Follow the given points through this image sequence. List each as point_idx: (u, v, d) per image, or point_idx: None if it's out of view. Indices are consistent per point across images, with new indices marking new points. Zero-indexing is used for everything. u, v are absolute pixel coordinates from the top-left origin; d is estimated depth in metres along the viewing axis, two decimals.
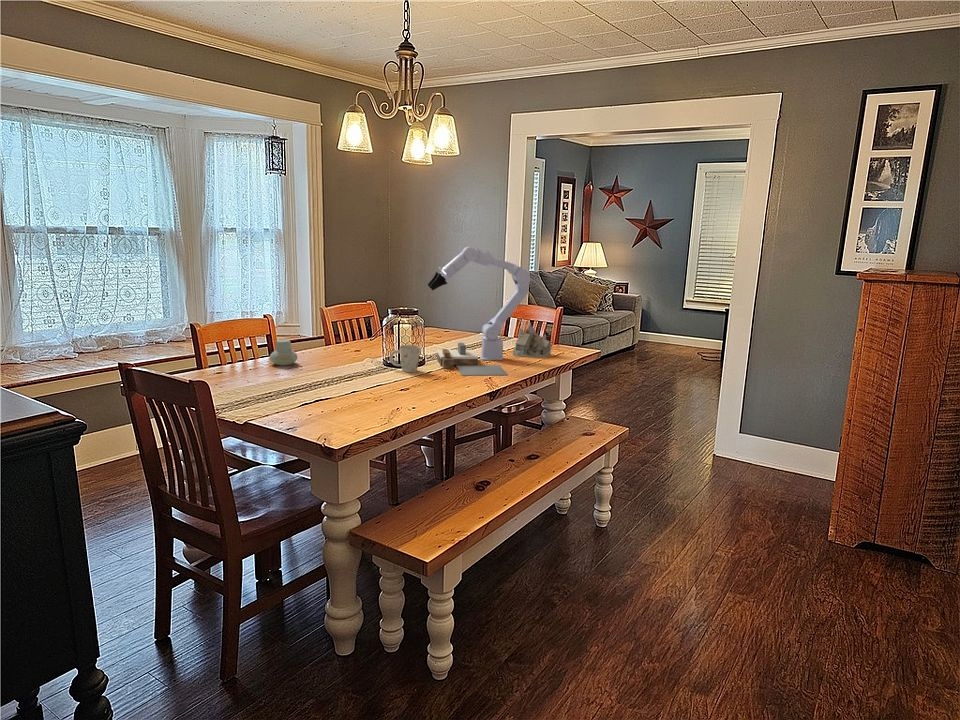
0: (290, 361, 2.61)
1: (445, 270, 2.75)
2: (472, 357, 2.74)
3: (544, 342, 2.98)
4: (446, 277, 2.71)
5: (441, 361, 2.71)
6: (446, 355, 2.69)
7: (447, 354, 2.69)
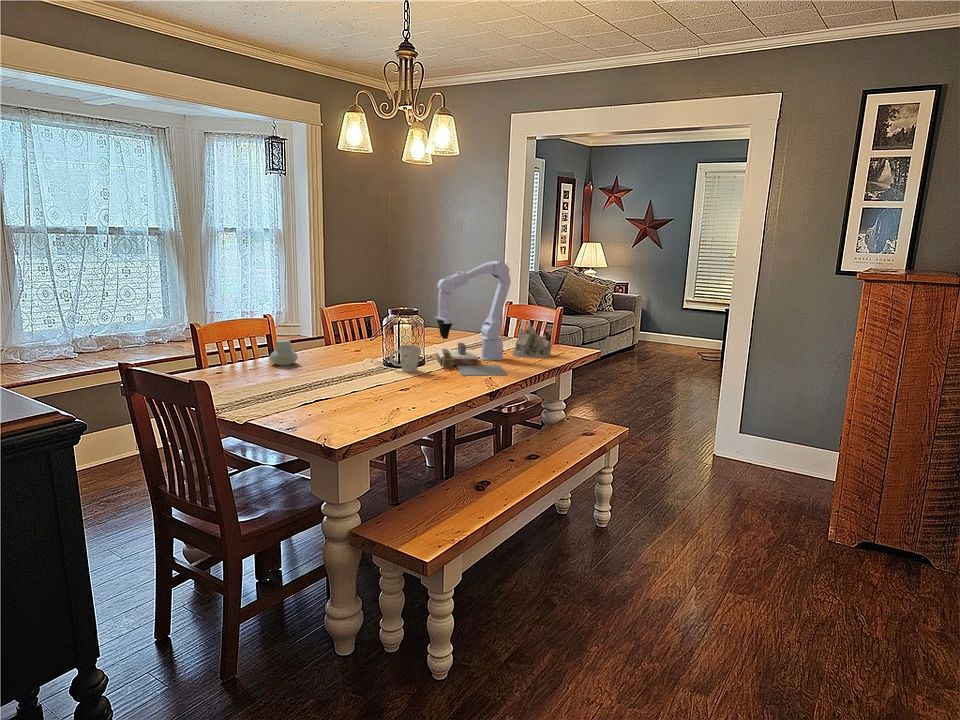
0: (290, 361, 2.61)
1: (441, 315, 2.75)
2: (472, 357, 2.74)
3: (544, 342, 2.98)
4: (447, 322, 2.71)
5: (441, 361, 2.71)
6: (446, 355, 2.69)
7: (447, 354, 2.69)
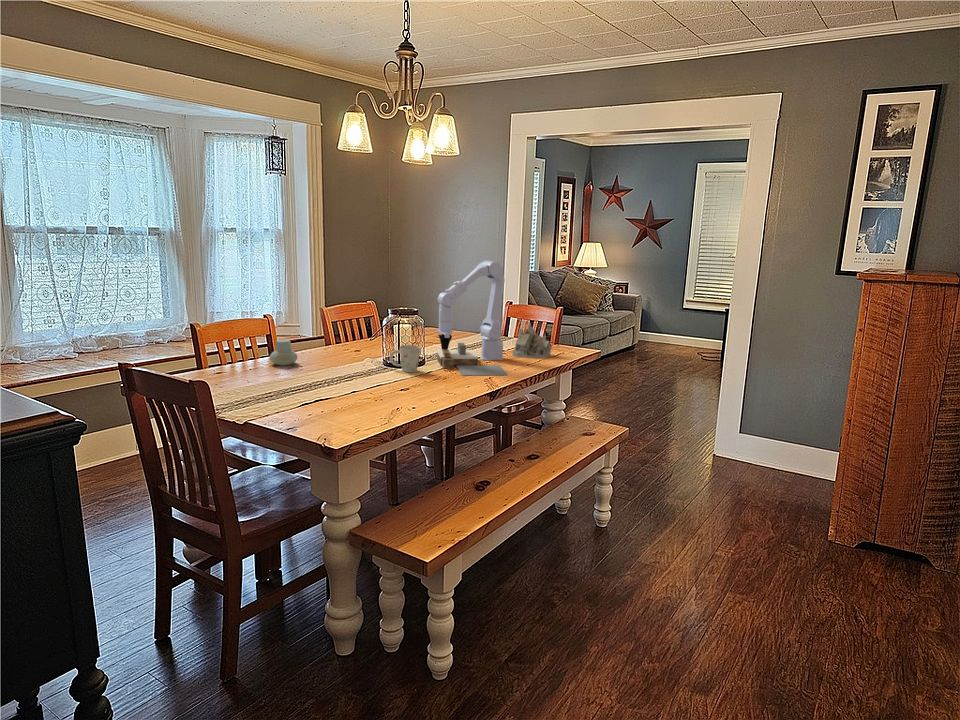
0: (290, 361, 2.61)
1: (442, 329, 2.73)
2: (472, 357, 2.74)
3: (544, 342, 2.98)
4: (447, 336, 2.69)
5: (441, 361, 2.71)
6: (446, 355, 2.69)
7: (447, 354, 2.69)
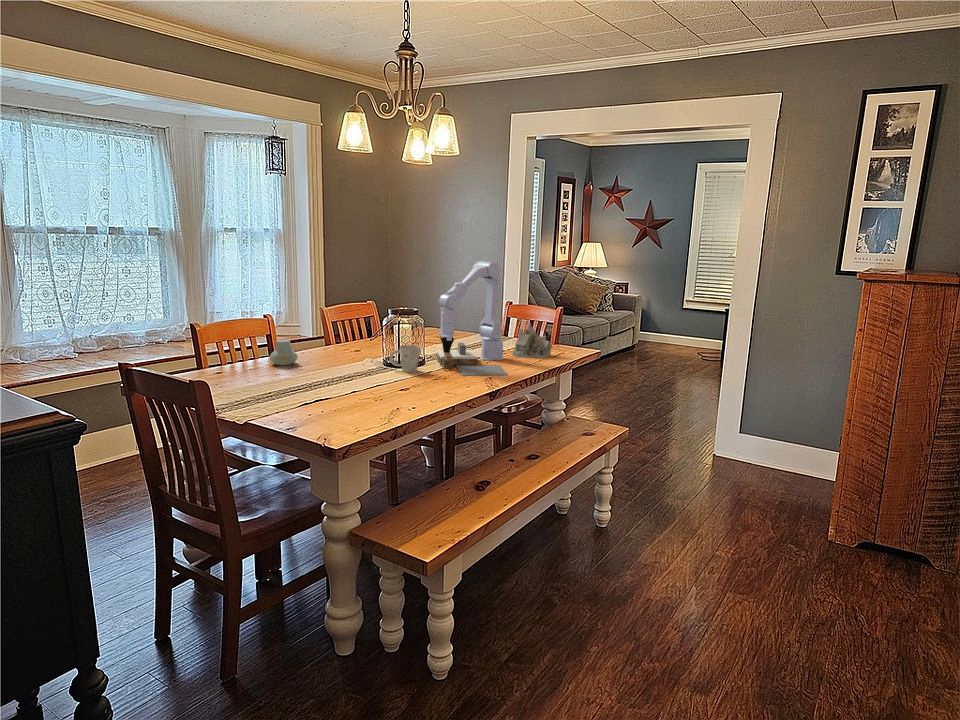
0: (290, 361, 2.61)
1: (444, 332, 2.67)
2: (472, 357, 2.74)
3: (544, 342, 2.98)
4: (449, 338, 2.63)
5: (441, 361, 2.71)
6: (448, 358, 2.63)
7: (449, 357, 2.63)
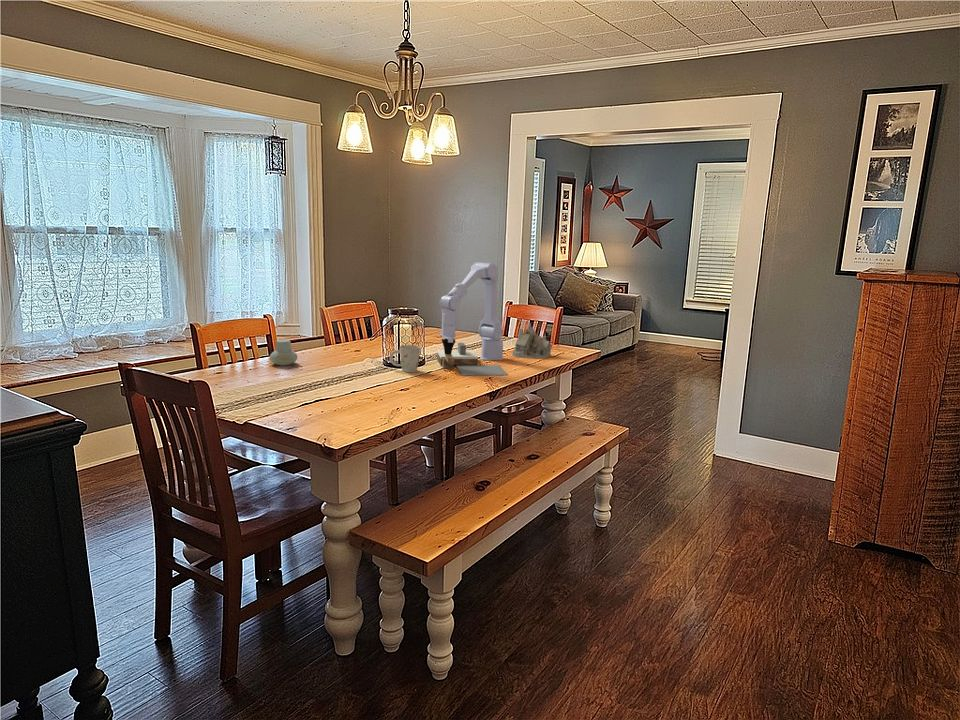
0: (290, 361, 2.61)
1: (445, 334, 2.63)
2: (472, 357, 2.74)
3: (544, 342, 2.97)
4: (451, 340, 2.59)
5: (441, 361, 2.71)
6: (449, 360, 2.59)
7: (450, 359, 2.59)
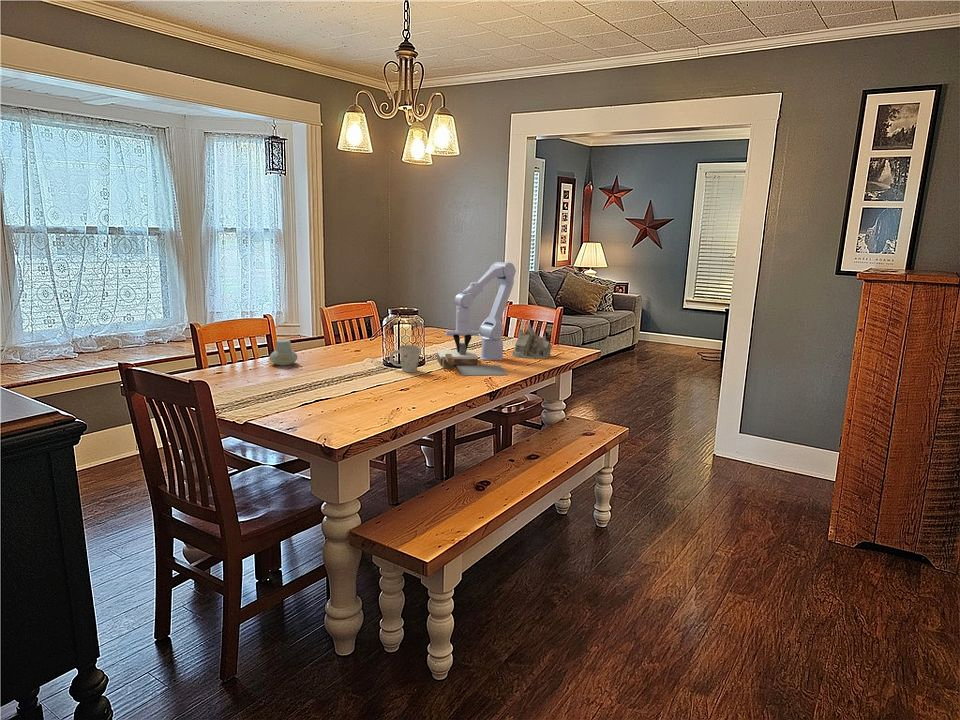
0: (290, 361, 2.61)
1: None
2: (472, 357, 2.74)
3: (544, 343, 2.96)
4: None
5: (441, 361, 2.71)
6: (449, 360, 2.59)
7: (450, 359, 2.59)
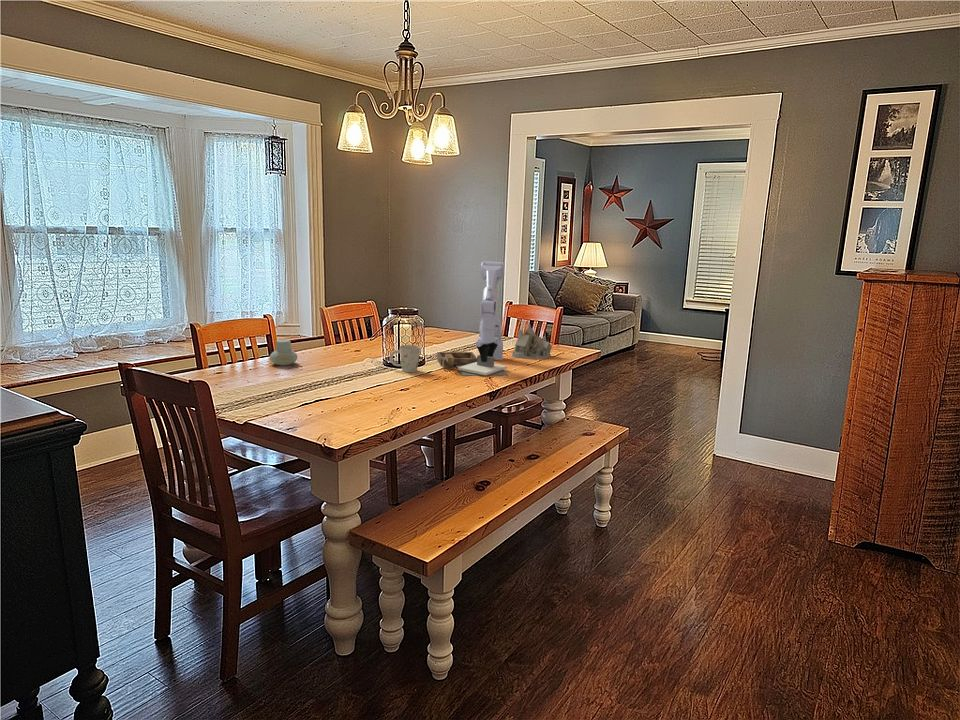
0: (290, 361, 2.61)
1: (481, 338, 2.62)
2: (503, 367, 2.66)
3: (544, 343, 2.96)
4: (477, 344, 2.58)
5: (441, 361, 2.71)
6: (449, 360, 2.59)
7: (450, 359, 2.59)
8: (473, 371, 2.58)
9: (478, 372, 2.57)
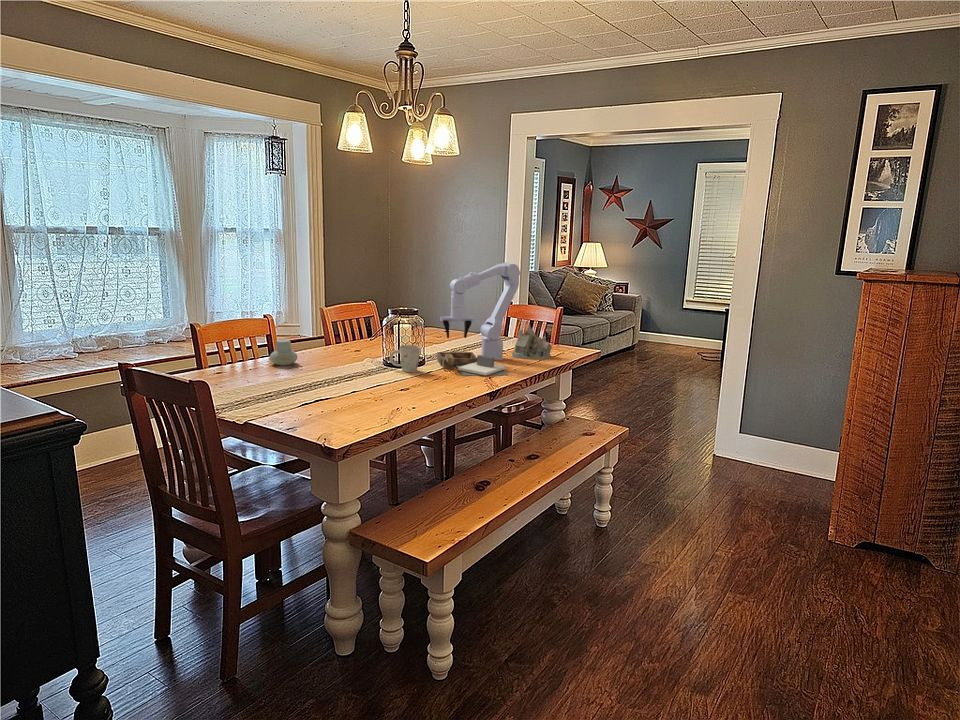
0: (290, 361, 2.61)
1: None
2: (503, 367, 2.66)
3: (544, 344, 2.95)
4: (440, 319, 2.77)
5: (441, 361, 2.71)
6: (449, 360, 2.59)
7: (450, 359, 2.59)
8: (473, 371, 2.58)
9: (478, 372, 2.57)
